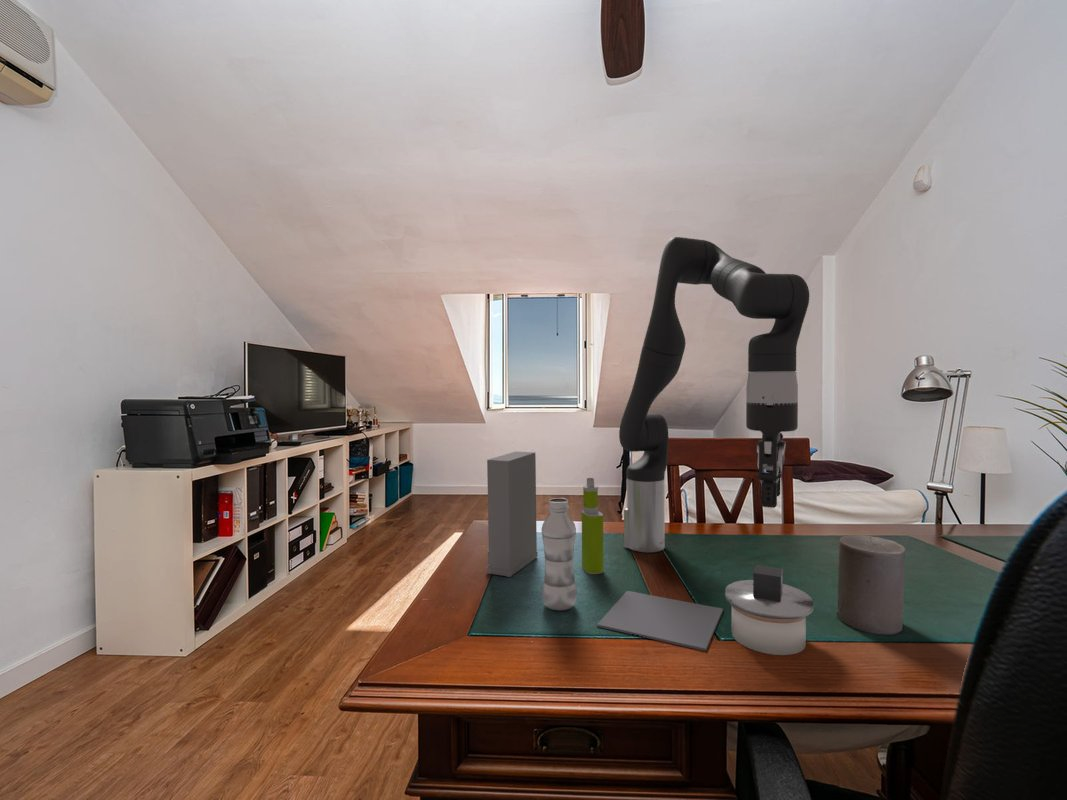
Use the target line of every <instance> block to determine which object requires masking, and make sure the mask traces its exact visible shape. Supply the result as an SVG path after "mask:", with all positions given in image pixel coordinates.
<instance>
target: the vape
mask: <svg viewBox="0 0 1067 800" xmlns="http://www.w3.org/2000/svg"><path fill="white" fill-rule="evenodd" d="M582 488H583V494H582V495H583V497H582V498H583V501H582V503H583V504H582V506H583V507H582V510H581V568H582V569H583V570H584V571H585V572H586V573H587V574H590V575H597V574H602V573H604V514H603V513H602V512H601V511H599V503H598V502H599V497H598V496H599V494H598V491H599V490H598V489H599V486H598V485H595V478H593V477H587V478H586V485H584V486H583V487H582Z"/></svg>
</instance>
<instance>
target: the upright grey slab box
mask: <svg viewBox="0 0 1067 800" xmlns="http://www.w3.org/2000/svg"><path fill="white" fill-rule="evenodd" d="M536 458H537V457H536V452H533V451H516V450H515V451H513V452H512V451H511V452H510V453H505V454H503V455H498V456H495V457H492V458H489V459H486V465H487V467H486V470H487V471H486V473H487V520H488V521H487V522H488V523H487V524H488V525H487V526H488V527H487V528H488V534H487V535H488V551H487V564H488V566H487V567H486V568H485V569H486V570H485V571H486V574H488V575H497V576H504V577H506V578H511V577H512V576H514V575H515V574H516V573H518V572H519V571H520V570H521V569H523V568H525V567H526V566H527V565H529V563H531V562H532V561H534V560H536V558H538V553H539V552H538V549H537V548H538V547H537V545H538V543H537V541H538V540H537V537H538V535H537V533H538V532H537V472H536V471H537V469H536V466H537V465H536V464H537V463H536V460H537V459H536Z"/></svg>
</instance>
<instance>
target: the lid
mask: <svg viewBox="0 0 1067 800" xmlns="http://www.w3.org/2000/svg"><path fill="white" fill-rule="evenodd" d="M752 575H753V576H752V577H753V578H752V579H745V580H737V581H734V582H732V583H730V584H728V585H727V586H726V587H725V590H724V596H725V597H724V598H725V600H726V602H727V603H729V605H731V607H732V606H733V607H735V608H737V609H739V610H741V611H743V612H746V613H749V614H752V615H756V616H760V617H765V618H771V619H798V618H803V617H806V618H807V617H808V616H810V615H811V614H812V613H813V611H814V600H813V599H812V597H811V596H810V595H809V594H808V593H807V592H804V591H803V590H801V589H799V588H797V587H794V586H791V585H788V584H786V583H783V580H784V579H783V568H779V567H772V566H766V565H758V564H755V568H754V570H753V574H752Z"/></svg>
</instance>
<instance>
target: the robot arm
mask: <svg viewBox="0 0 1067 800" xmlns="http://www.w3.org/2000/svg"><path fill="white" fill-rule="evenodd" d="M659 263H660V264H659V269H658V276H657V281H656V286H655V293H654V298H653V304H652V310H651V313H650V317H649V322H648V326H647V328H646V333H645V336H644V339H643V344H642V348H641V352H640V355H639V356H640V357H639V361H638V364H637V370H636V374H635V377H634V381H633V386H632V388H631V389H632V390H631V391H630V394H629V398H628V400H627V402H626V406H625V409H624V411H623V415H622V418H621V420H620V425H619V432H618V434H619V435H618V436H619V437H618V438H619V442H620V446H621V447H622V449H624V450H625V451H627V452H634V453H636V452H637V453H638V452H643V454H642V456H641V457H640V458H639V459H638V460H637V461H634V462H633V463H631V464H629V465H628V466H627V467H626V471H625V472H626V507H625V508H624V509H623V548H626V549H629V550H631V551H635V552H639V553H657V552H661V551H664V549H665V542H666V537H665V532H666V531H665V521H666V519H665V516H666V515H665V511H666V510H665V509H666V508H665V503H666V501H665V497H666V496H665V491H666V490H665V486H666V484H665V476H666V475H665V473H666V470H667V467H668V455H669V454H668V451H669V450H668V449H669V425H668V423H667V420H666V418H665V417H664V416H663V415H662V414H660V413H658V412H657V413H656V412H655V413H654V412H653V413H652V412H651V413H649V410H650V409H651V406H652V405H653V403H654V401H655V400H656V398H657V397H659V395H660V394H661V393H662V392H663V391H664V390H665V388H666V387H667V386H669V384H670V383H671V382H672V381H673V379H674V378H675V377H676V375H677V374H678V372H679V369H680V366H681V364H682V360H683V358H684V357H683V356H684V353H685V351H686V350H685V349H686V337H685V334H684V330H683V327H682V325H681V321H680V319H679V315H678V313H677V309H676V292H677V287H678V284H686V285H696V286H697V285H711V288H713V289H712V290H714V292H715V293H716V294H717V295H719V296H720V297H721V298H723V299H725V300H728V301H729V302H731V303H732V304H733V306H734V307H735V309H736V310H737V312H738V313H739V314H740V315H741V316H743V317H746V318H748V319H754V320H769V319H770V320H774V323H773V326H772V329H771V330H770V331H769V332H766V333H762V334H758V335H754V336H752V337H751V338H750V339H749V342H748V348H747V349H748V350H747V357H748V358H747V362H748V363H747V372H748V373H747V378H746V379H747V380H746V389H745V390H746V393H745V394H746V395H745V396H746V397H745V398H746V401H745V402H746V408H745V411H746V413H745V424H746V426H745V427H746V429H747V430H750V431H755V432H761V435H762V436H761V440H758V442H757V443H756V453H757V469H758V474H757V478H758V481H759V482H760V505H761V506H762V507H763V508H770V509H771V508H774V509H775V508H776V507H778V506H777V505H778V497H779V496H781V476H782V475H781V474H782V472H783V466H784V464H785V452H786V441H783V439H784V435H783V433H782V432H784V433H787V432H789V433H790V432H794V431H797V429H798V425H799V424H798V423H799V422H798V421H799V420H798V418H799V417H798V416H799V408H798V407H799V405H798V404H799V401H798V400H799V385H798V378H797V346H798V342H799V338H800V336H801V335H800V334H801V330H802V327H803V323H804V321H805V317H806V314H807V311H808V308H809V303H810V290H809V287H808V284H807V281H806V280H805V279H804V278H803V277H802V276H800V275H798V274H794V273H766V272H765V271H764V269H762V268H761V267H759V266H757V265H755V264H753V263H749V262H747V261H745V260H740V259H738V258H735V257H732V256H730V255H729V254H728V253H726V252H725V251H724V250H723V249H721V248H720V247H719V246H718V245H716V244H715V243H713V242H711V241H709V240H705V239H698V238H688V237H682V236H681V237H680V236H673V237H671V238H669V240H668V241H667V242H666V244H665V246H664V248H663V251H662V255H661V260H660V262H659Z"/></svg>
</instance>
